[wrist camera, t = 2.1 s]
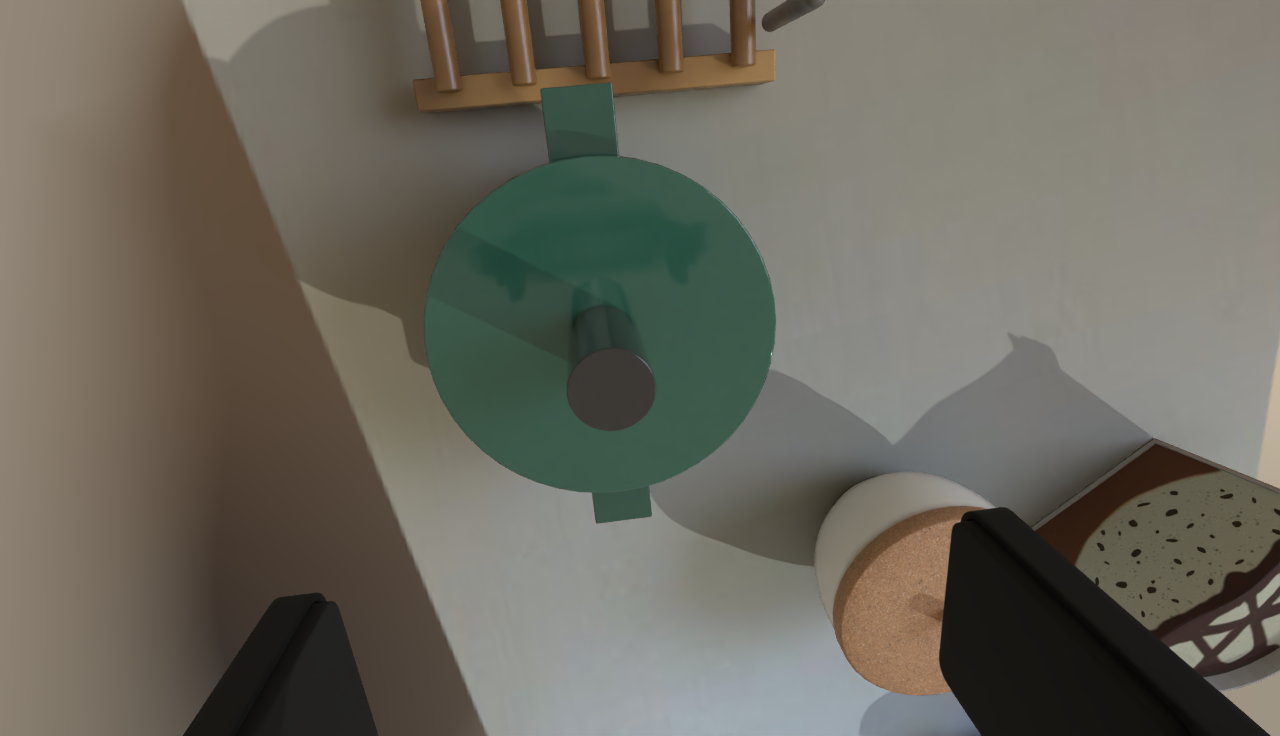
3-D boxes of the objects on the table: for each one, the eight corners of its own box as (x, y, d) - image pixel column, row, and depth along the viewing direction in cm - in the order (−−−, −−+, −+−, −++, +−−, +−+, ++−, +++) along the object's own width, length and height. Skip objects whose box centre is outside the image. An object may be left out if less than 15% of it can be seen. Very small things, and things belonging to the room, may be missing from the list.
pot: (505, 451, 34) (484, 548, 26) (444, 109, 28) (392, 99, 20) (719, 425, 35) (762, 512, 27) (704, 86, 29) (753, 68, 21)
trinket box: (924, 406, 35) (1040, 495, 27) (987, 539, 39) (1107, 656, 30) (757, 500, 36) (815, 616, 28) (833, 621, 40) (906, 758, 31)
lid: (464, 496, 26) (433, 597, 20) (396, 172, 21) (332, 186, 16) (769, 458, 26) (821, 545, 21) (764, 138, 22) (829, 139, 16)
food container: (1047, 603, 41) (1185, 740, 32) (1002, 548, 39) (1135, 677, 30) (1215, 486, 39) (1415, 596, 30) (1176, 422, 37) (1377, 518, 28)
